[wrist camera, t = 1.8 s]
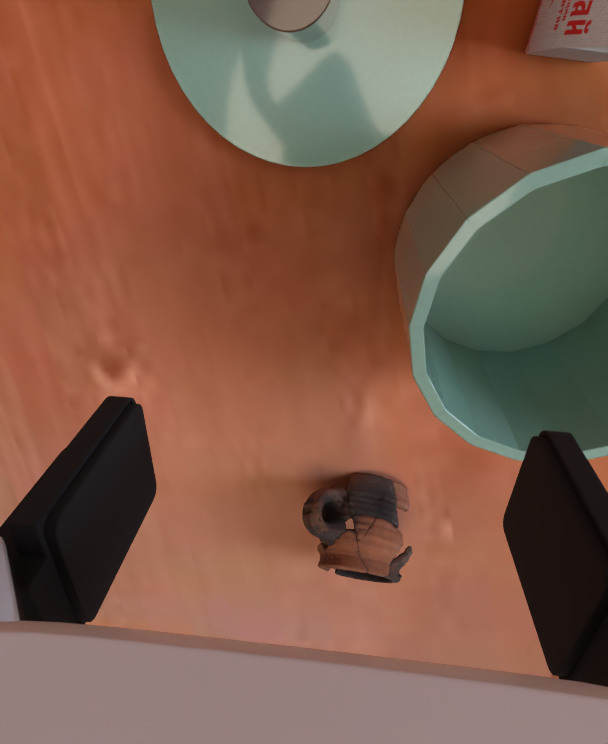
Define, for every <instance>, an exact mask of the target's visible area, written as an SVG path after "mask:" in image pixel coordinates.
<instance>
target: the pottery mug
mask: <svg viewBox="0 0 608 744" xmlns="http://www.w3.org/2000/svg"><path fill="white" fill-rule="evenodd" d="M409 507H410V506H409V499H408V494H407V488H405V487H404V486H403V485H401V484H400V483H397V482H394V481H392V480H389V479H385V478H383V477H381V476H375V475H369V474H351V476H350V481H349V484H348V486H347V489H346V491H345V490H344V489H343V488H342V487H341V486H339V485H334V486H332V487H331V488H322V489H319V490H317V491H315V492H313V493H312V494H311V495H310V496H309V498H308V499H307V501H306V502H305V503H304V506H303V513H302V514H303V522H304V525H305V527H306V528H307V529H308V531H309V532H310V533H311V534H312V535H314V536H316V537H318V538H319V539H320V541H321V542H322V543H321V544H319V546H318V547H317V550H318V551H319V553H320V561H319V563H318V567H320V568H321V569H324V570H326V571H329V570H330V568H333V569H335V573H336V574H337V575H341V576H345V577H351V578H354V579H360V580H367V581H373V582H382V583H397V582H399V581H400V578H401V577H402V576H401V575H400V574H399V570H400V569H401V568H402V567H403V566H404V565H405V564H406V563H407V561H408V560H409V558H410V555H411V554H412V547H411V546H408V547H407V548H406V550H405V551H404V553H401V554H400V555H399V556H398V557H396V555H397V554H398V552H399V551H400V549H401V547H402V546H403V537H402V534H401V532H400V531H399V530H398V529H397V528H398V518H397V510H396V508H399V509H401V510H403V511H405V512H406V511H408V510H409ZM350 518H352V519H353V522H354V529H346V524H345V522H346V521H347V520H348V519H350ZM395 557H396V558H395Z"/></svg>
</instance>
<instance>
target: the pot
mask: <svg viewBox="0 0 608 744" xmlns="http://www.w3.org/2000/svg"><path fill="white" fill-rule="evenodd" d="M394 262H395V273H396V284H397V293H398V299H399V304H400V310H401V315H402V321H403V326H404V331H405V337H406V342H407V348H408V353H409V359H410V364H411V370H412V375H413V378H414V380H415V381H416V383H417V385H418V387H419V389H420V391H421V392H422V394H423V396H424V398H425V400H426V402H427V403H428V405H429V407H430V409H431V411H432V413H433V414H434V415H435V417H437V418H438V419H439V420H440V421H442V422H443V423H444V424H445V425H447V426H448V427H449V428H450V429H452V430H453V431H454V432H455V433H457V434H458V435H459V436H460V437H462V438H463V439H464V440H465V441H467V442H468V443H469V444H471V445H473V446H476V447H479V448H482V449H485V450H488V451H491V452H493V453H496V454H499V455H502V456H505V457H508V458H510V459H513V460H520V461H523V460H524V457H525V454H526V451H527V448H528V445H529V442H530V440H531V438H532V437H533V436H539V434H540V433H541V432H542V431H544V430H546V431H558V432H569V433H571V434H572V435H573V437H574V438H575V440H576V442H577V443H578V445H579V447H580V448H581V450H582V451H583V453H584V455H585V456H586V458H587V459H592V458H598V457H603V456H608V132H605V131H600V130H595V129H590V128H585V127H580V126H575V125H570V124H521V125H517V126H514V127H512V128H507V129H504V130H501V131H498V132H495V133H492V134H489V135H487V136H485V137H483V138H481V139H479V140H476V141H474V142H472V143H470V144H469V145H467V146H466V147H464V148H463V149H461V150H460V151H458V152H456V153H455V154H454V155H452V156H451V157H450V158H449V159H448V160H446V161H445V162H444V163H443V164H442V165H440V166H439V167H438V168H437V169H436V171H435V172H433V173H432V175H430V177H429V178H428V179H427V180H426V182H425V183H424V184H423V186H422V187H421V188H420V189H419V191H418V192H417V194H416V195H415V197H414V199H413V200H412V202H411V204H410V206H409V207H408V210H407V211H406V213H405V215H404V219H403V221H402V224H401V227H400V231H399V234H398V237H397V244H396V248H395V252H394Z"/></svg>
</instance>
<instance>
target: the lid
mask: <svg viewBox="0 0 608 744" xmlns="http://www.w3.org/2000/svg"><path fill="white" fill-rule="evenodd" d="M151 2H152V7H153V12H154V18H155V23H156V28H157V31H158V34H159V38H160V41H161V44H162V48H163V51H164V53H165V56H166V58H167V60H168V63H169V65H170V68H171V70H172V72H173V74H174V76H175V78H176V80H177V82H178V83H179V85H180V87H181V89H182V91H183V92H184V94H185V95H186V97H187V98H188V99H189V101H190V102H191V104H192V105H193V107H194V108H195V109H196V111H197V112H198V113H199V114H200V115H201V116H202V117H203V119H204V120H205V121H206V122H207V123H208V124H209V125H210V126H211V127H212V128H213V129H214V130H215V131H217V132H218V133H219V134H220V135H221V136H222V137H223V138H225V139H226V140H228V141H229V142H230V143H232V144H233V145H235V146H236V147H238V148H239V149H241V150H243V151H245V152H247V153H249V154H251V155H253V156H255V157H258V158H260V159H263V160H266V161H268V162H271V163H276V164H281V165H285V166H294V167H318V166H326V165H331V164H336V163H340V162H343V161H346V160H349V159H351V158H354V157H357V156H359V155H361V154H363V153H365V152H367V151H369V150H371V149H372V148H374V147H376V146H377V145H379V144H380V143H382V142H383V141H384V140H386V139H387V138H389V137H390V136H391V135H392V134H394V133H395V132H396V131H397V130H398V129H399V128H400V127H401V126H402V125H404V124H405V123H406V122H407V120H408V119H409V118H410V117H411V116H412V115H413V114H414V113H415V111H416V110H417V109H418V108H419V107H420V105H421V104H422V103H423V101H424V100H425V98H426V97H427V95H428V94H429V92H430V91H431V90H432V88H433V86H434V85H435V83H436V81H437V79H438V77H439V75H440V73H441V72H442V70H443V68H444V66H445V63H446V61H447V58H448V56H449V54H450V51H451V49H452V46H453V44H454V40H455V37H456V33H457V30H458V27H459V23H460V20H461V14H462V9H463V3H464V0H151Z"/></svg>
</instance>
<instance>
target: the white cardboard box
mask: <svg viewBox="0 0 608 744" xmlns="http://www.w3.org/2000/svg"><path fill="white" fill-rule="evenodd" d="M525 54H530V55H538V56H545V57H553V58H560V59H568V60H575V61H583V62H602V61H608V0H540V3H539V7H538V10H537V13H536V17H535V20H534V24H533V27H532V30H531V34H530V37H529V40H528V44H527V47H526V50H525Z"/></svg>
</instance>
